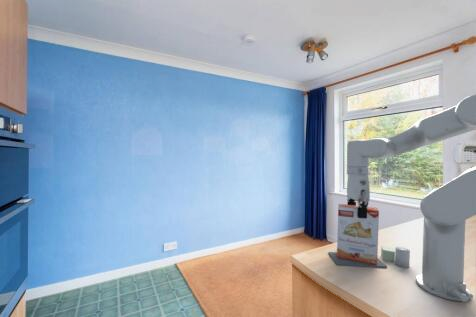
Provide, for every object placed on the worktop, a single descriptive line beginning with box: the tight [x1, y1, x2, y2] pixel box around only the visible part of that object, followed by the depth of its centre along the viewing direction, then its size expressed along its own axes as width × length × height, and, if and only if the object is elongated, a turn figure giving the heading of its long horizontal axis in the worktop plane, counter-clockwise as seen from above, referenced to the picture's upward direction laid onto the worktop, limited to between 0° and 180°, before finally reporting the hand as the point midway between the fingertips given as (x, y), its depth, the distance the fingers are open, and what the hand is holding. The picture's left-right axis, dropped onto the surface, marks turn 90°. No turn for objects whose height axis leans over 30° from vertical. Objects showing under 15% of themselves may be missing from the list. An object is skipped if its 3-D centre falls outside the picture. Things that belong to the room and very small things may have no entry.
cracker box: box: [336, 203, 380, 265], centre depth 87 cm, size 14×6×21 cm, turn 64°
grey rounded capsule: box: [394, 246, 411, 269], centre depth 84 cm, size 4×4×6 cm
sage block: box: [380, 246, 395, 263], centre depth 89 cm, size 4×4×4 cm
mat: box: [328, 251, 388, 269], centre depth 87 cm, size 10×18×1 cm, turn 84°
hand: (356, 214), depth 87 cm, fingers open, 9 cm apart
